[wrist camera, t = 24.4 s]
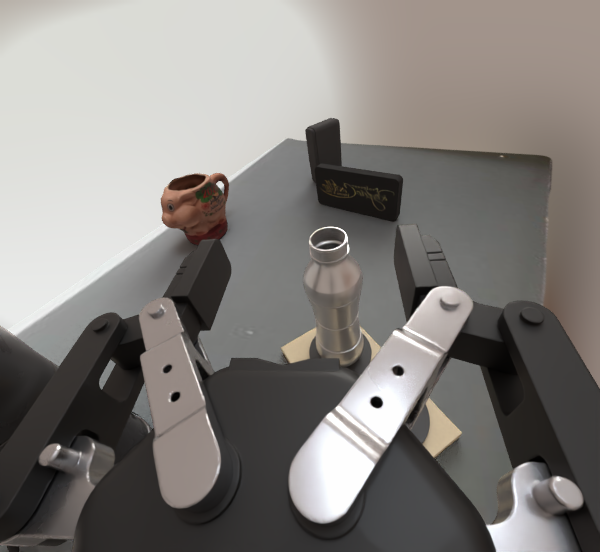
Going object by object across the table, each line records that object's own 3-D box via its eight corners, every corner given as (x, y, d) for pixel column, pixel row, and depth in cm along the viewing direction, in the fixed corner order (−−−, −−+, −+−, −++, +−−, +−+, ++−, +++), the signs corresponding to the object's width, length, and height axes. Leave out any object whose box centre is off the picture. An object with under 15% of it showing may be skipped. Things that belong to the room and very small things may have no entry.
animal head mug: (218, 207, 81) (199, 159, 71) (252, 212, 76) (236, 161, 66) (168, 250, 69) (136, 199, 59) (204, 259, 64) (176, 206, 54)
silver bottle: (315, 371, 38) (287, 263, 24) (320, 330, 43) (299, 219, 29) (363, 375, 37) (363, 262, 23) (363, 331, 41) (363, 216, 28)
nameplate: (399, 217, 63) (403, 175, 57) (395, 222, 62) (399, 179, 56) (322, 200, 74) (318, 162, 67) (318, 203, 73) (313, 166, 66)
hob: (376, 506, 29) (377, 502, 27) (282, 352, 43) (279, 343, 42) (459, 437, 32) (465, 429, 30) (345, 315, 47) (344, 305, 45)
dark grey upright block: (335, 170, 86) (331, 116, 76) (343, 173, 83) (340, 118, 73) (311, 181, 83) (303, 127, 73) (319, 185, 81) (312, 129, 70)
